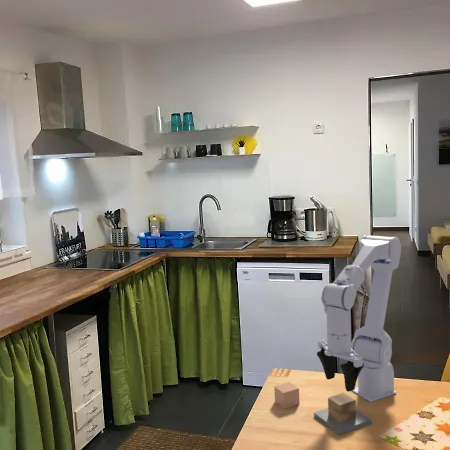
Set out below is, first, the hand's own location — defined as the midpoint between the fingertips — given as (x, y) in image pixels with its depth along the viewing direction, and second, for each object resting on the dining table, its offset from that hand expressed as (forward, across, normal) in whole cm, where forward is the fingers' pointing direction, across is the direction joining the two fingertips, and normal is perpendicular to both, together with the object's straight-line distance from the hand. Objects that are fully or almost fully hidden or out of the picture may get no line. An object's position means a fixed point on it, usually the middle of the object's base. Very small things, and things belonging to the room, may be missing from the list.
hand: (340, 384), depth 124 cm
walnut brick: (+8, 0, 0) cm, 8 cm away
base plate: (+9, 0, 0) cm, 9 cm away
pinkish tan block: (+10, -14, -7) cm, 18 cm away
